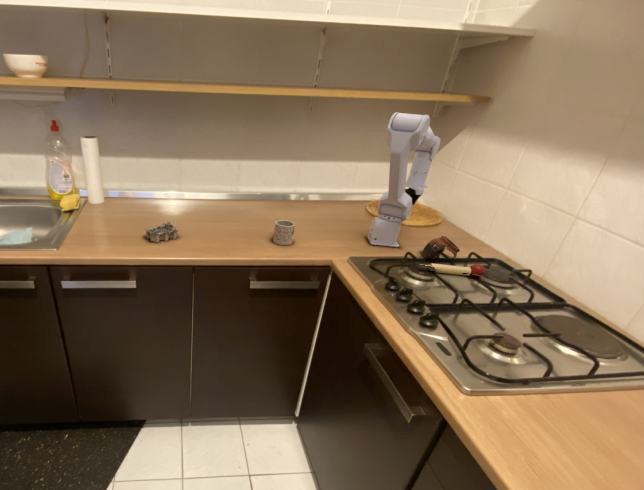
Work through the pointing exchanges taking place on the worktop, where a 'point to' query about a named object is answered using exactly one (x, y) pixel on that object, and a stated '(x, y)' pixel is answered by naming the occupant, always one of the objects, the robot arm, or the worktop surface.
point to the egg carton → (162, 232)
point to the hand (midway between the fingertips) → (407, 209)
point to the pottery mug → (439, 247)
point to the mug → (283, 232)
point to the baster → (459, 269)
